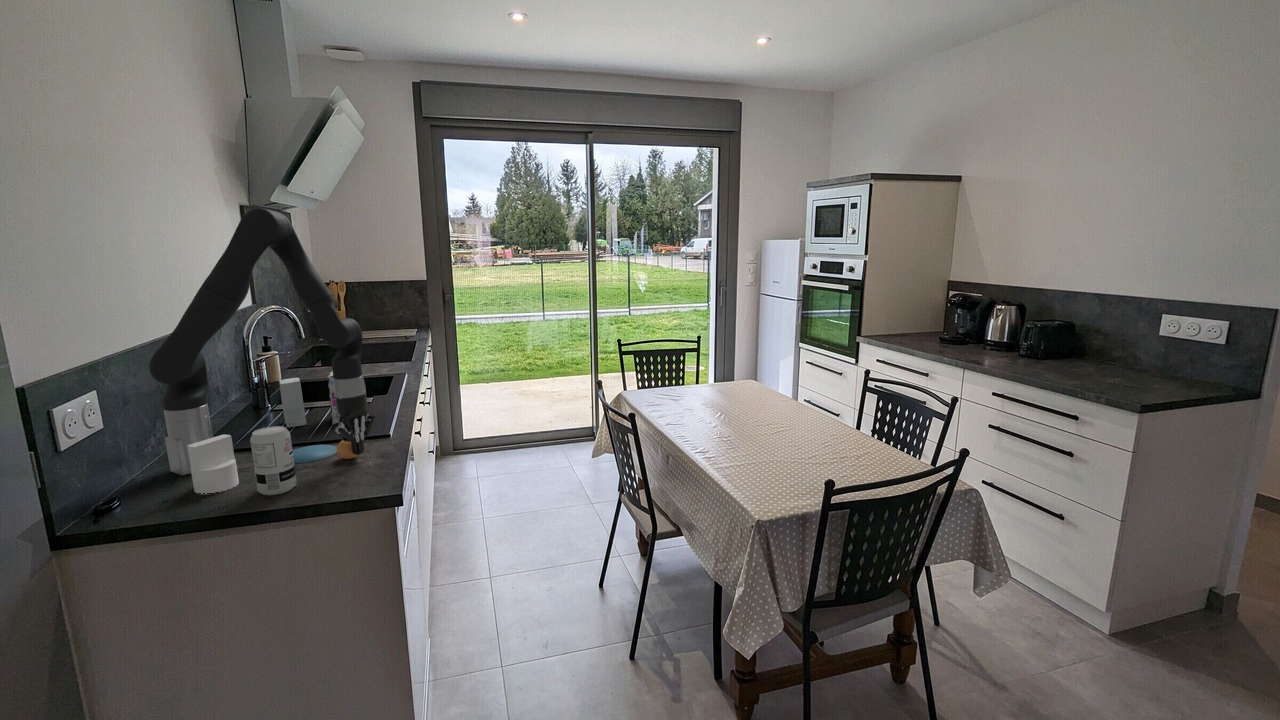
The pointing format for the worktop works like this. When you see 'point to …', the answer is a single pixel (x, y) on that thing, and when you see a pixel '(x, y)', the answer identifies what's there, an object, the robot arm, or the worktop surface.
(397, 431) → the worktop surface
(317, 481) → the worktop surface
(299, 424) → the skincare box
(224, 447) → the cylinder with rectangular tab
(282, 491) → the supplement can
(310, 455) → the disc
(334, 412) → the candy bar box
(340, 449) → the ball
